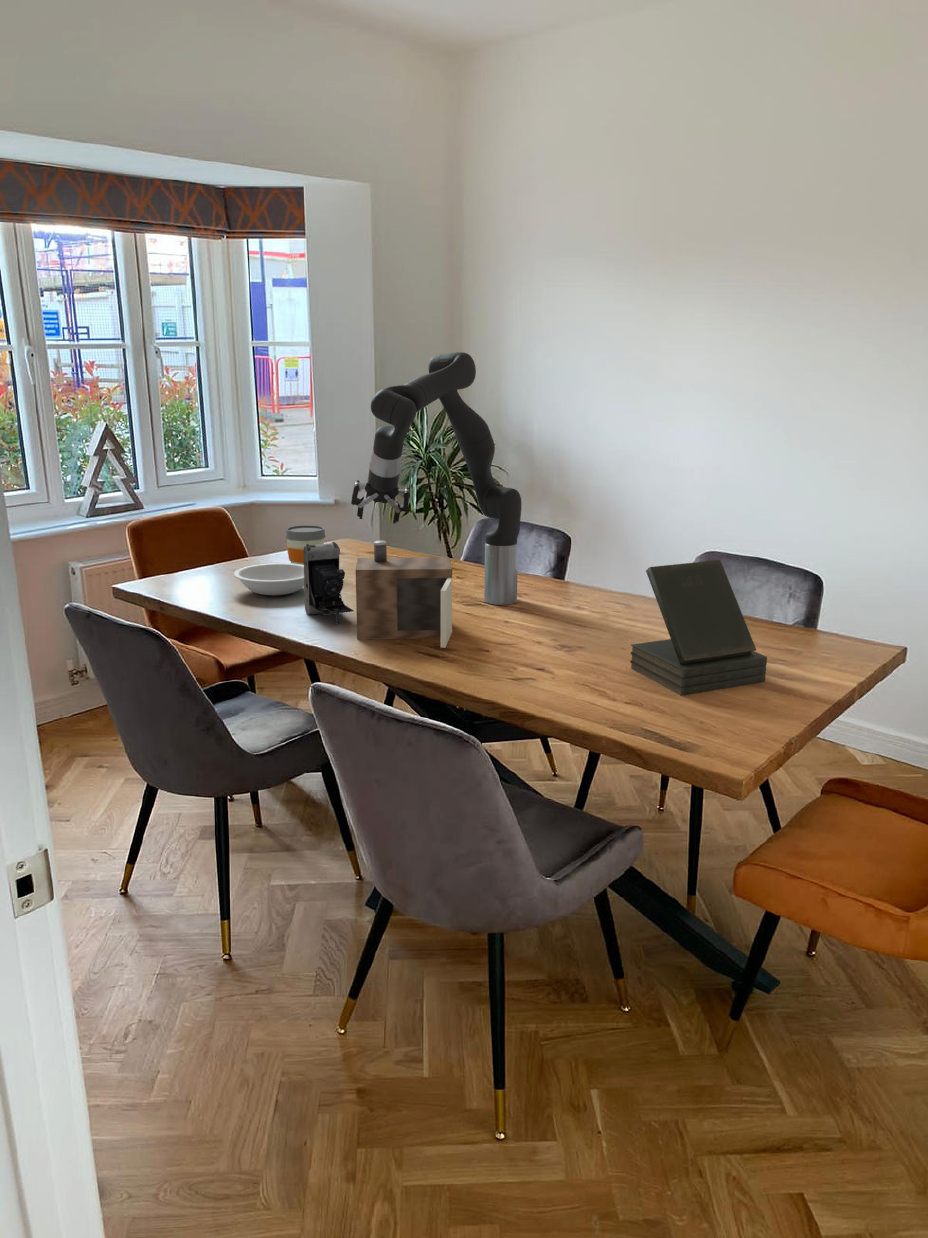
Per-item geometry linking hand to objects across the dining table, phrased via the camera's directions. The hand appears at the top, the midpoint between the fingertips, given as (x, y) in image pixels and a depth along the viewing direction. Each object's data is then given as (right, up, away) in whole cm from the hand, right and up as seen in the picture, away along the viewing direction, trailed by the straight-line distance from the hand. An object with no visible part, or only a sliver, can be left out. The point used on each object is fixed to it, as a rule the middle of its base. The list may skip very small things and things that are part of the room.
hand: (377, 519), depth 245 cm
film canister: (+1, -10, +3) cm, 11 cm away
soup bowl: (-34, -18, +42) cm, 57 cm away
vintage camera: (-14, -25, +17) cm, 33 cm away
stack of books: (+75, -39, -26) cm, 88 cm away
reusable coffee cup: (-29, -11, +66) cm, 73 cm away
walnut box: (+7, -28, +6) cm, 30 cm away
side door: (+18, -30, -8) cm, 36 cm away
